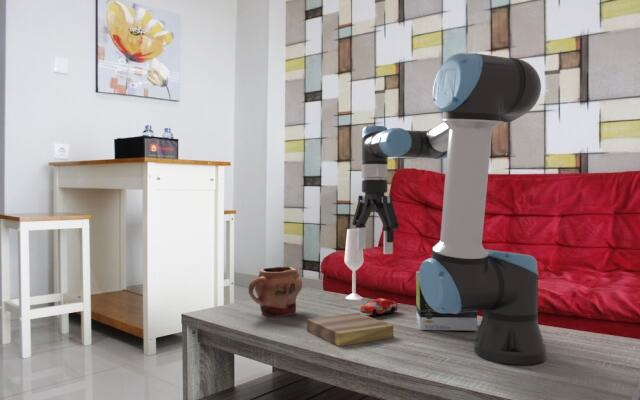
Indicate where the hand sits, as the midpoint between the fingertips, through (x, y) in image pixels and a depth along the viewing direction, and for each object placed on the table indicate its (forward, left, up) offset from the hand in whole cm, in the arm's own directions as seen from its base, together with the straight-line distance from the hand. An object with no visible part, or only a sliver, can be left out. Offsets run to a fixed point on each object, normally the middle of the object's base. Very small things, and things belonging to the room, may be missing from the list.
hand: (374, 251), depth 151 cm
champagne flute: (+25, -9, -19) cm, 33 cm away
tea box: (-19, -10, -19) cm, 29 cm away
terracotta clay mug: (+15, +25, -19) cm, 35 cm away
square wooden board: (-13, +17, -19) cm, 29 cm away
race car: (0, +1, -21) cm, 21 cm away
